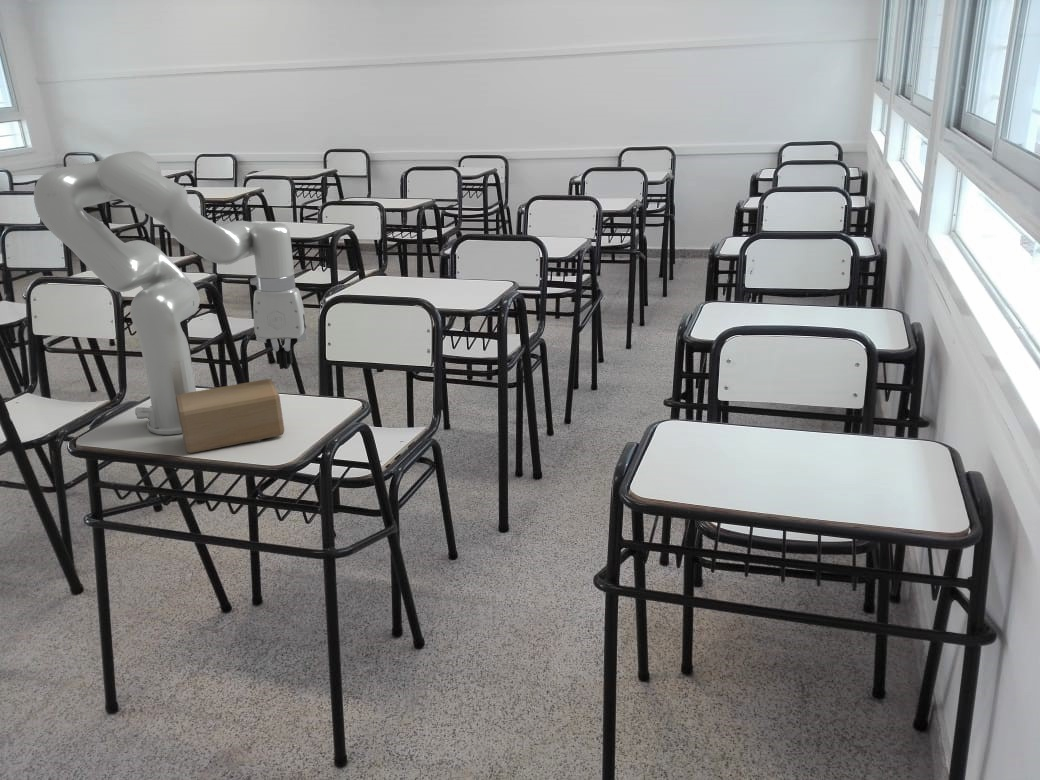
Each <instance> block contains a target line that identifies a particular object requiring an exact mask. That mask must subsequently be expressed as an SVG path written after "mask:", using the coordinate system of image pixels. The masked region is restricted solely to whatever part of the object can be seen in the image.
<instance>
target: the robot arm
mask: <svg viewBox="0 0 1040 780" xmlns="http://www.w3.org/2000/svg"><path fill="white" fill-rule="evenodd" d="M116 200H121V201H123V202H124V203H126V204H128V205H130V206H132V207H134V209H135V208H136V209H137V210H139V211H140V212H143V213H144V214H146V215H148V216H149V217H151V218H153V219H155V220H156V221H158V222H160V223H162V224H163V225H164V226H165V229H166V230H167V231H168V232H169V233H170V235H172V237H174V239H175V240H176V241H177V242H178V243H179V244H181V245H182V246H184V247H185V248H187V249H188V250H190V251H192V252H194V254H197V255H199V256H200V257H202V258H204V259H205V260H207V261H210V262H213V263H215V264H218V265H223V266H225V265H226V266H227V265H232V264H235V263H236V262H237V263H238V262H239V261H240V260H244V259H246V258H248V257H249V258H250V257H251V256H253V257H254V262H255V263H254V264H255V273H256V276H255V277H254V278H252V277H251V278H250V280H249V282H250V285H251V286H256V290H254V294H253V307H252V308H253V311H252V312H253V329H254V334H255V337H256V338H255V340H256V341H257V342H261V343H264V344H267V345H268V346H270V347H271V349H273V351H274V352H275V357H276V358H275V360H276V364H277V365H279V369H280V370H288V369H289V368H290V366H291V365H292V364H293V353H292V349H293V347H294V346H295V345H296V344H298V343H302V342H305V341H307V340H308V338H309V336H308V333H307V321H306V320H307V319H306V313H305V309H304V308H305V307H304V304H303V300H302V295H301V291H300V289H299V288H298V287H296V279H295V268H294V260H293V249H292V240H291V239H292V237H291V231H290V227H289V226H288V225H287V224H285V223H281V222H264V223H259V222H255V221H254V222H252V221H249V220H248V221H247V220H246V221H245V220H235V221H232V222H229V223H228V222H227V223H226V224H223V225H220V224H217V223H215V222H213V221H212V220H210V219H208V218H206V217H205V216H204V215H202V214H200V213H198V212H197V211H196V210H194V208H193V207H192V206H191V205H190V203H189V201H188V192H187V190H186V189H185V187H184V186H183V185H181V184H179V183H177V182H176V181H173V180H172V179H170V178H168V177H166V176H164V175H163V174H162V169H161V167H160V165H159V163H158V162H157V161H156V159H154V157H152V156H151V155H150V154H148V153H145V152H142V151H139V150H137V151H136V150H134V151H133V150H132V151H127V152H120V153H114V154H111V155H109V156H106V157H105V158H104V159H102V160H98V161H93V162H88V163H83V164H76V165H69V166H63V167H57V168H54V169H51V170H48V171H47V172H45V173H44V174H42V175H41V177H39V178H38V180H37V181H36V183H35V186H34V191H33V201H34V202H33V203H34V207H35V210H36V214H37V215H38V217H39V219H40V220H41V222H42V223H43V225H44V226H45V227H46V228H47V229H48V230H49V232H51V234H53V236H55V237H56V238H58V239H59V240H60V241H61V242H62V243H63V244H64V245H65V246H66V247H68V248H69V249H70V251H72V253H73V254H75V256H77V257H78V258H79V260H80V261H81V262H82V263H83V264H84V265H85V266H86V267H87V268H89V270H90V271H91V272H92V273H93V274H94V275H95V276H96V277H97V278H98V279H99V280H100V281H101V282H102V283H104V285H105V286H107V287H108V288H109V289H110V290H112V291H115V292H118V293H125V292H130V291H132V290H134V289H137V288H139V287H141V288H142V290H140V291H139V292H138V293H137V294H136V295H135V296H134V297H133V298H132V301H131V303H130V307H129V311H130V313H129V314H130V319H131V322H132V324H133V326H134V329H135V331H136V334H137V337H138V341H139V345H140V350H141V354H142V359H143V365H144V370H145V375H146V382H147V387H148V393H149V399H150V404H151V405H150V406H149V407H145V406H142V407H136V408H135V409H134V413H135V417H136V419H137V420H140V419H141V420H142V419H147V420H149V421H148V422H147V426H146V427H147V429H148V431H149V432H150V433H152V434H156V435H164V436H166V435H179V434H183V433H182V428H181V423H180V418H179V413H178V408H177V403H176V397H177V395H179V394H184V393H190V392H196V391H197V388H196V382H195V376H194V370H193V364H192V358H191V351H190V347H189V346H190V345H189V343H188V339H187V336H186V334H185V332H184V331H183V328H182V325H181V323H182V322H184V320H186V319H188V318H189V317H192V316H193V315H194V314H195V313H196V312H197V311H198V309H199V306H200V303H201V298H200V294H199V291H198V288H196V285H195V284H194V283H193V282H192V280H191V279H189V277H188V276H187V275H186V274H185V273H184V272H183V271H182V270H181V269H180V268H179V267H178V266H177V265H176V264H175V263H174V262H173V261H172V260H171V259H170V258H169V257H168V256H167V255H166V254H165V253H164V251H162V250H161V249H160V248H159V247H157V246H155V245H154V244H153V243H150V242H148V241H146V240H141V239H138V240H137V239H135V240H130V241H127V242H124V241H123V240H121V239H120V238H119V237H118V236H117V235H115V234H114V233H113V232H112V231H111V229H110V228H108V226H107V225H106V224H104V223H103V222H102V221H101V220H99V219H98V218H96V217H94V216H92V215H91V214H89V213H88V212H87V211H85V210H84V208H87V207H92V206H95V205H99V204H104V203H107V202H111V201H116ZM281 339H284V345H283V344H282V342H281V341H282V340H281ZM283 346H284V347H283Z"/></svg>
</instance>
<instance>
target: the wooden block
mask: <svg viewBox="0 0 1040 780" xmlns="http://www.w3.org/2000/svg"><path fill="white" fill-rule="evenodd" d="M176 403H177V408H178V413H179V418H180V423H181V428H182V433H181V434H182V439H183V442H184V448H185V450H186V452H187V453H188V454H192V453H194V454H195V453H199V452H203V451H208V450H214V449H219V448H224V447H228V446H229V447H230V446H233V445H238V444H243V443H244V444H245V443H248V442H250V441H255V440H260V439H261V440H263V439H269V438H274V437H279V436H282V435H284V434H285V433H284V432H285V425H284V419H283V412H282V404H281V396H280V394H279V392H278V389H277V388H276V385H275V384H274V382H273V380H272V379H270V378H265V379H261V380H254V381H249V382H248V381H247V382H243V383H236V384H231V385H225V386H220V387H214V388H207V389H202V390H196V392H190V393H184V394H179V395H177V397H176Z"/></svg>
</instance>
